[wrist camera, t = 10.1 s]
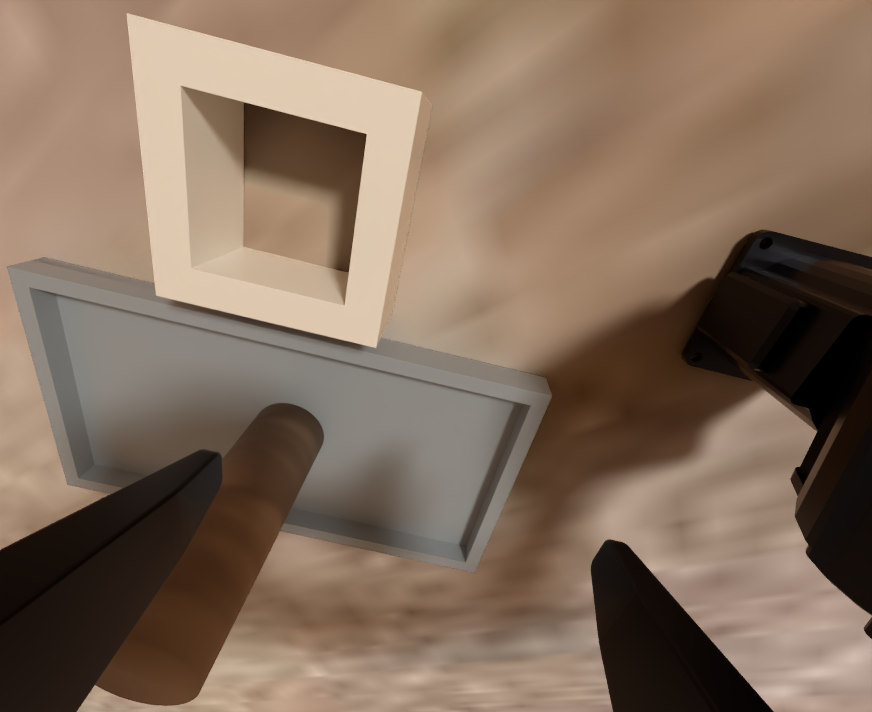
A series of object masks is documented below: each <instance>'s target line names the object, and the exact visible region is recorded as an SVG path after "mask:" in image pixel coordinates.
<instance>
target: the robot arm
mask: <svg viewBox="0 0 872 712" xmlns="http://www.w3.org/2000/svg"><path fill="white" fill-rule="evenodd" d="M764 238H766V243H765V244H764V245H763V246H762V247H759V244H760V242H761V241H762V239H764ZM697 325H698V326H697V328H696V330H695V331H694V333H693V335H692V336H691V338H690V340H689V341H688V343H687V345H686V347H685V348H684V350H683V352H682V358H683V360H684V361H685V362H686V363H687V364H689V365H691V366H694V367H698V368H702V369H706V370H710V371H714V372H719V373H723V374H727V375H731V376H735V377H739V378H743V379H747V380H751V381H754V382H755V383H757V384H758V385H759V386H760V387H762V388H763V389H764V390H765V391H767V392H768V393H769V394H770V395H772V396H773V397H774V398H775V399H777V400H778V401H779V402H780V403H782V404H783V405H784V406H785V407H787V408H788V409H789V410H790V411H792V412H793V413H794V414H795V415H797V416H798V417H799V418H800V419H802V420H803V421H804V422H806V423H807V424H808V425H809V426H811V427H812V428H813V429H814V430H816V431H817V433H816V436H815V438H814V440H813V442H812V444H811V446H810V448H809V450H808V452H807V454H806V456H805V458H804V460H803V462H802V464H801V466H800V467H796V468H795V470H794V472H793V474H792V476H791V478H790V479H791V482H792V484H793V487H794V489H795V491H796V493H797V496H798V497H797V501H796V510H795V518H796V520H797V523H798V525H799V527H800V529H801V532H802V534H803V536H804V538H805V540H806V542H807V543H808V546H807V548H806V554H807V556H808V557H809V559H810V560H811V561H812V562H813V563H814V564H815V565H816V567H817V568H818V569H819V570H820V571H821V572H822V573H823V575H824V576H825V577H826V578H827V579H828V580H829V581H830V582H831V583H832V584H833V585H835V586H836V587H837V588H838V589H839V590H840V591H841V592H843V593H844V594H845V595H846V596H847V597H848V598H849V599H851V600H852V601H853V602H854V603H855V604H856V605H857V606H859V607H860V608H862V609H863V610H865V611H866V612H867V613H869V614H870V615H872V257H869V256H865V255H861V254H857V253H853V252H850V251H846V250H842V249H838V248H834V247H830V246H827V245H823V244H819V243H815V242H811V241H808V240H804V239H800V238H796V237H792V236H788V235H785V234H781V233H777V232H773V231H769V230H759V231H757V232H755V233H754V234H752V235H751V237H750V238H749V239H748V241H747V243H746V244H745V246H744V248H743V249H742V251H741V253H740V254H739V256H738V258H737V260H736V261H735V263H734V265H733V266H732V268H731V270H730V272H729V273H728V275H726V276H725V277H724V279H723V281H722V283H721V284H720V286H719V288H718V289H717V291H716V293H715V295H714V296H713V298H712V300H711V301H710V303H709V305H708V307H707V308H706V310H705V312H704V313H703V315H702V317H701V318H700V320H699V322H698V324H697ZM696 352H698V355H697V356H696V357H694V358H691V356H692V355H693V354H694V353H696ZM222 480H223V473H222V455H221V454H220V453H219V452H216V451H212V450H207V449H200V450H198V451H196V452H194V453H192V454H190V455H188V456H186V457H184V458H182V459H180V460H178V461H176V462H174V463H172V464H170V465H168V466H166V467H164V468H162V469H160V470H158V471H156V472H154V473H152V474H150V475H148V476H146V477H144V478H142V479H140V480H138V481H136V482H134V483H132V484H130V485H128V486H126V487H124V488H122V489H120V490H118V491H116V492H114V493H112V494H110V495H108V496H106V497H104V498H102V499H100V500H98V501H96V502H94V503H92V504H90V505H88V506H86V507H84V508H82V509H80V510H78V511H76V512H74V513H72V514H70V515H68V516H66V517H64V518H62V519H60V520H58V521H56V522H54V523H52V524H50V525H48V526H46V527H44V528H42V529H41V530H39V531H37V532H35V533H33V534H31V535H29V536H27V537H25V538H23V539H21V540H19V541H17V542H15V543H13V544H11V545H9V546H7V547H5V548H3V549H1V550H0V712H77V710H78V709H79V707H80V706H81V704H82V703H83V701H84V700H85V699H86V697H87V696H88V694H89V693H90V691H91V690H92V688H93V687H94V685H95V684H96V682H97V681H98V680H99V678H100V677H101V675H102V674H103V672H104V671H105V669H106V668H107V666H108V665H109V663H110V662H111V660H112V659H113V658H114V656H115V655H116V653H117V652H118V650H119V649H120V647H121V646H122V644H123V643H124V641H125V640H126V639H127V637H128V636H129V634H130V633H131V631H132V630H133V628H134V627H135V625H136V624H137V622H138V621H139V619H140V618H141V617H142V615H143V614H144V612H145V611H146V609H147V608H148V606H149V605H150V603H151V602H152V600H153V599H154V598H155V596H156V595H157V593H158V592H159V590H160V589H161V587H162V586H163V584H164V583H165V581H166V580H167V578H168V577H169V576H170V574H171V573H172V571H173V570H174V568H175V567H176V565H177V564H178V562H179V561H180V559H181V558H182V556H183V555H184V553H185V551H186V549H187V548H188V546H189V544H190V542H191V541H192V539H193V537H194V535H195V533H196V531H197V530H198V528H199V526H200V524H201V522H202V520H203V519H204V517H205V515H206V513H207V511H208V509H209V508H210V506H211V504H212V502H213V500H214V498H215V497H216V495H217V493H218V491H219V489H220V487H221V484H222ZM591 576H592V585H593V594H594V604H595V613H596V622H597V631H598V638H599V645H600V650H601V655H602V660H603V665H604V670H605V675H606V679H607V684H608V689H609V694H610V699H611V704H612V708H613V712H773V710H772V709H771V708H770V707H769V706H768V705H767V704H766V703H765V701H764V700H763V699H762V698H761V697H760V696H759V695H758V693H757V692H756V691H755V690H754V689H753V688H752V687H751V685H750V684H749V683H748V682H747V681H746V680H745V679H744V677H743V676H742V675H741V674H740V673H739V672H738V671H737V669H736V668H735V667H734V666H733V665H732V664H731V663H730V661H729V660H728V659H727V658H726V657H725V656H724V655H723V653H722V652H721V651H720V650H719V649H718V648H717V647H716V645H715V644H714V643H713V642H712V641H711V640H710V639H709V637H708V636H707V635H706V634H705V633H704V632H703V631H702V630H701V628H700V627H699V626H698V625H697V624H696V623H695V622H694V620H693V619H692V618H691V617H690V616H689V615H688V614H687V612H686V611H685V610H684V609H683V608H682V607H681V606H680V604H679V603H678V602H677V601H676V600H675V599H674V598H673V596H672V595H671V594H670V593H669V592H668V591H667V590H666V588H665V587H664V586H663V585H662V584H661V583H660V582H659V580H658V579H657V578H656V577H655V576H654V575H653V574H652V572H651V571H650V570H649V569H648V568H647V567H646V566H645V564H644V563H643V562H642V561H641V560H640V559H639V558H638V556H637V555H636V554H635V553H634V552H633V551H632V550H631V549H630V547H629V546H628V545H627V544H625V543H623V542H619V541H615V540H606V541H605V542H604V543H603V545H602V546H601V548H600V550H599V551H598V553H597V554H596V556H595V557H594V559H593V561H592V564H591ZM864 631H865V633H866V634H867V635H868V636H869V637H870V638H871V639H872V618H871V619H870V620H869V621H868V623H867V624H866V625H865V627H864Z"/></svg>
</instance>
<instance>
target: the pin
mask: <svg viewBox="0 0 872 712" xmlns="http://www.w3.org/2000/svg"><path fill="white" fill-rule="evenodd" d="M323 442H324V432H323V429H322V426H321V424H320V423H319V421H318V420H317V419H316V418H315V417H314V416H313V415H312V414H311V413H310V412H309V411H307V410H306V409H304V408H302V407H299V406H297V405H294V404H289V403H276V404H272V405H269V406H267V407H265V408H264V409H263V410H261V411H260V413H259V414H258V415H257V416H256V418H255V419H254V420H253V421H252V423H251V424H250V425H249V426H248V428H247V429H246V430H245V431H244V433H243V434H242V435H241V436H240V438H239V439H238V440H237V441H236V443H235V444H234V445H233V446H232V448H231V449H230V450H229V451H228V453H227V454H226V455H225V456H224V458H223V459H222V473H223V480H222V484H221V487H220V489H219V491H218V493H217V495H216V497H215V498H214V500H213V502H212V504H211V506H210V508H209V509H208V511H207V513H206V515H205V517H204V519H203V520H202V522H201V524H200V526H199V528H198V530H197V531H196V533H195V535H194V537H193V539H192V541H191V542H190V544H189V546H188V548H187V549H186V551H185V553H184V555H183V556H182V558H181V559H180V561H179V562H178V564H177V565H176V567H175V568H174V570H173V571H172V573H171V574H170V576H169V577H168V578H167V580H166V581H165V583H164V584H163V586H162V587H161V589H160V590H159V592H158V593H157V595H156V596H155V598H154V599H153V600H152V602H151V603H150V605H149V606H148V608H147V609H146V611H145V612H144V614H143V615H142V617H141V618H140V619H139V621H138V622H137V624H136V625H135V627H134V628H133V630H132V631H131V633H130V634H129V636H128V637H127V639H126V640H125V641H124V643H123V644H122V646H121V647H120V649H119V650H118V652H117V653H116V655H115V656H114V658H113V659H112V660H111V662H110V663H109V665H108V666H107V668H106V669H105V671H104V672H103V674H102V675H101V677H100V678H99V680H98V681H97V682H96V684H95V685H96V686H98V687H100V688H102V689H103V690H105V691H108V692H110V693H112V694H114V695H117V696H119V697H122V698H125V699H128V700H132V701H136V702H140V703H145V704H151V705H164V706H168V705H179V704H184V703H187V702H190V701H191V700H193V699H194V698H196V697H197V696H198V694H199V692H200V690H201V688H202V686H203V684H204V682H205V680H206V678H207V676H208V674H209V672H210V670H211V668H212V666H213V664H214V662H215V660H216V658H217V656H218V654H219V652H220V650H221V648H222V646H223V644H224V642H225V640H226V638H227V636H228V634H229V632H230V630H231V628H232V626H233V624H234V622H235V620H236V618H237V616H238V614H239V612H240V610H241V608H242V606H243V604H244V602H245V600H246V598H247V596H248V594H249V592H250V590H251V588H252V586H253V584H254V582H255V580H256V578H257V576H258V574H259V572H260V570H261V568H262V566H263V564H264V562H265V560H266V558H267V556H268V554H269V552H270V550H271V548H272V546H273V544H274V542H275V540H276V538H277V536H278V533H279V531H280V529H281V527H282V525H283V523H284V521H285V519H286V517H287V515H288V513H289V511H290V509H291V507H292V505H293V503H294V501H295V499H296V497H297V495H298V493H299V491H300V489H301V487H302V485H303V483H304V481H305V479H306V477H307V475H308V473H309V471H310V469H311V467H312V465H313V463H314V461H315V459H316V457H317V455H318V453H319V451H320V449H321V447H322V445H323Z"/></svg>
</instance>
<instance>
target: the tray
mask: <svg viewBox="0 0 872 712" xmlns="http://www.w3.org/2000/svg"><path fill="white" fill-rule="evenodd" d="M7 269H8V273H9V276H10V280H11V284H12V287H13V291H14V294H15V298H16V302H17V305H18V309H19V312H20V316H21V320H22V323H23V327H24V330H25V334H26V337H27V341H28V345H29V348H30V352H31V355H32V359H33V363H34V366H35V370H36V373H37V377H38V381H39V384H40V388H41V391H42V395H43V399H44V402H45V406H46V409H47V413H48V417H49V420H50V424H51V427H52V431H53V435H54V438H55V442H56V445H57V449H58V453H59V456H60V460H61V463H62V467H63V471H64V474H65V478H66V481H67V485H71V486H76V487H80V488H85V489H89V490H94V491H99V492H103V493H108V494H112V493H114V492H116V491H118V490H120V489H122V488H124V487H126V486H128V485H130V484H132V483H134V482H136V481H138V480H140V479H142V478H144V477H146V476H148V475H150V474H152V473H154V472H156V471H158V470H160V469H162V468H164V467H166V466H168V465H170V464H172V463H174V462H176V461H178V460H180V459H182V458H184V457H186V456H188V455H190V454H192V453H194V452H196V451H198V450H200V449H207V450H212V451H216V452H219V453H220V454H221V455H222V459H223V458H224V456H225V455H226V454H227V453H228V451H229V450H230V449H231V448H232V446H233V445H234V444H235V443H236V441H237V440H238V439H239V438H240V436H241V435H242V434H243V433H244V431H245V430H246V429H247V428H248V426H249V425H250V424H251V423H252V421H253V420H254V419H255V418H256V416H257V415H258V414H259V413H260V411H261V410H263V409H264V408H265V407H267V406H269V405H272V404H276V403H289V404H294V405H297V406H299V407H302V408H304V409H306V410H307V411H309V412H310V413H311V414H312V415H313V416H314V417H315V418H316V419H317V420H318V421H319V423H320V424H321V426H322V429H323V432H324V442H323V445H322V447H321V449H320V451H319V453H318V455H317V457H316V459H315V461H314V463H313V465H312V467H311V469H310V471H309V473H308V475H307V477H306V479H305V481H304V483H303V485H302V487H301V489H300V491H299V493H298V495H297V497H296V499H295V501H294V503H293V505H292V507H291V509H290V511H289V513H288V515H287V517H286V519H285V521H284V523H283V525H282V527H281V529H280V531H283V532H288V533H292V534H297V535H302V536H306V537H311V538H315V539H320V540H325V541H329V542H334V543H338V544H343V545H348V546H352V547H357V548H362V549H366V550H371V551H375V552H380V553H385V554H389V555H394V556H398V557H403V558H408V559H412V560H417V561H422V562H426V563H431V564H435V565H440V566H445V567H449V568H454V569H458V570H463V571H468V572H472V573H475V571H476V569H477V566H478V564H479V562H480V559H481V557H482V555H483V553H484V550H485V548H486V546H487V544H488V541H489V539H490V537H491V534H492V532H493V530H494V528H495V525H496V523H497V521H498V518H499V516H500V514H501V512H502V509H503V507H504V505H505V503H506V500H507V498H508V496H509V493H510V491H511V489H512V487H513V484H514V482H515V480H516V478H517V475H518V473H519V471H520V468H521V466H522V464H523V462H524V459H525V457H526V455H527V453H528V450H529V448H530V446H531V443H532V441H533V439H534V437H535V434H536V432H537V430H538V427H539V425H540V423H541V421H542V418H543V416H544V414H545V412H546V409H547V407H548V405H549V402H550V400H551V398H552V394H551V391H550V388H549V385H548V382H547V379H546V377H542V376H538V375H533V374H529V373H525V372H521V371H517V370H513V369H508V368H504V367H500V366H496V365H492V364H488V363H483V362H479V361H475V360H471V359H467V358H462V357H458V356H454V355H450V354H446V353H442V352H437V351H433V350H429V349H425V348H421V347H416V346H412V345H408V344H404V343H400V342H396V341H391V340H387V339H383V338H381V339H380V341H379V343H378V345H377V347H376V348H374V347H370V346H366V345H361V344H357V343H353V342H349V341H345V340H340V339H336V338H332V337H328V336H324V335H319V334H315V333H311V332H307V331H303V330H298V329H294V328H290V327H286V326H282V325H277V324H273V323H269V322H265V321H261V320H256V319H252V318H248V317H244V316H240V315H235V314H231V313H227V312H223V311H219V310H214V309H210V308H206V307H202V306H198V305H193V304H189V303H185V302H181V301H177V300H172V299H168V298H164V297H160V296H156V291H155V284H153V283H149V282H145V281H141V280H136V279H132V278H128V277H124V276H120V275H116V274H111V273H107V272H103V271H99V270H95V269H90V268H86V267H82V266H78V265H74V264H70V263H65V262H61V261H57V260H53V259H49V258H45V257H44V258H39V259H35V260H31V261H27V262H23V263H19V264H15V265H11V266H7Z"/></svg>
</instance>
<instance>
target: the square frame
mask: <svg viewBox="0 0 872 712" xmlns="http://www.w3.org/2000/svg"><path fill="white" fill-rule="evenodd" d="M127 22H128V31H129V41H130V50H131V60H132V70H133V79H134V89H135V99H136V108H137V118H138V127H139V137H140V147H141V156H142V166H143V175H144V185H145V195H146V204H147V214H148V224H149V233H150V243H151V252H152V262H153V272H154V281H155V291H156V296H160V297H164V298H168V299H172V300H177V301H181V302H185V303H189V304H193V305H198V306H202V307H206V308H210V309H214V310H219V311H223V312H227V313H231V314H235V315H240V316H244V317H248V318H252V319H256V320H261V321H265V322H269V323H273V324H277V325H282V326H286V327H290V328H294V329H298V330H303V331H307V332H311V333H315V334H319V335H324V336H328V337H332V338H336V339H340V340H345V341H349V342H353V343H357V344H361V345H366V346H370V347H374V348H376V347H377V345H378V343H379V341H380V339H381V337H382V334H383V332H384V330H385V328H386V326H387V324H388V322H389V320H390V317H391V315H392V313H393V308H394V303H395V298H396V293H397V287H398V282H399V277H400V272H401V267H402V261H403V256H404V251H405V246H406V240H407V235H408V230H409V225H410V220H411V214H412V209H413V204H414V199H415V194H416V188H417V183H418V178H419V173H420V168H421V162H422V157H423V152H424V147H425V142H426V136H427V131H428V126H429V121H430V116H431V110H432V105H431V103H430V102H429V101H428V99H427V98H426V97H425V95H424V94H423V92H421V91H417V90H413V89H409V88H406V87H402V86H398V85H394V84H391V83H387V82H383V81H379V80H376V79H372V78H368V77H364V76H361V75H357V74H353V73H349V72H346V71H342V70H338V69H334V68H330V67H327V66H323V65H319V64H315V63H312V62H308V61H304V60H300V59H297V58H293V57H289V56H285V55H282V54H278V53H274V52H270V51H267V50H263V49H259V48H255V47H252V46H248V45H244V44H240V43H237V42H233V41H229V40H225V39H222V38H218V37H214V36H210V35H207V34H203V33H199V32H195V31H191V30H188V29H184V28H180V27H176V26H173V25H169V24H165V23H161V22H158V21H154V20H150V19H146V18H143V17H139V16H135V15H131V14H128V13H127ZM244 102H245V103H249V104H253V105H257V106H261V107H265V108H268V109H272V110H276V111H280V112H284V113H288V114H292V115H295V116H299V117H303V118H307V119H311V120H315V121H318V122H322V123H326V124H330V125H334V126H338V127H341V128H345V129H349V130H353V131H357V132H361V133H365V134H367V137H366V145H365V152H364V160H363V168H362V175H361V183H360V191H359V198H358V206H357V214H356V221H355V229H354V237H353V244H352V252H351V260H350V268H349V273H348V272H344V271H340V270H336V269H332V268H328V267H324V266H320V265H316V264H312V263H307V262H303V261H299V260H295V259H291V258H287V257H283V256H279V255H275V254H271V253H267V252H263V251H259V250H254V249H250V248H246V247H243V235H244Z"/></svg>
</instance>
